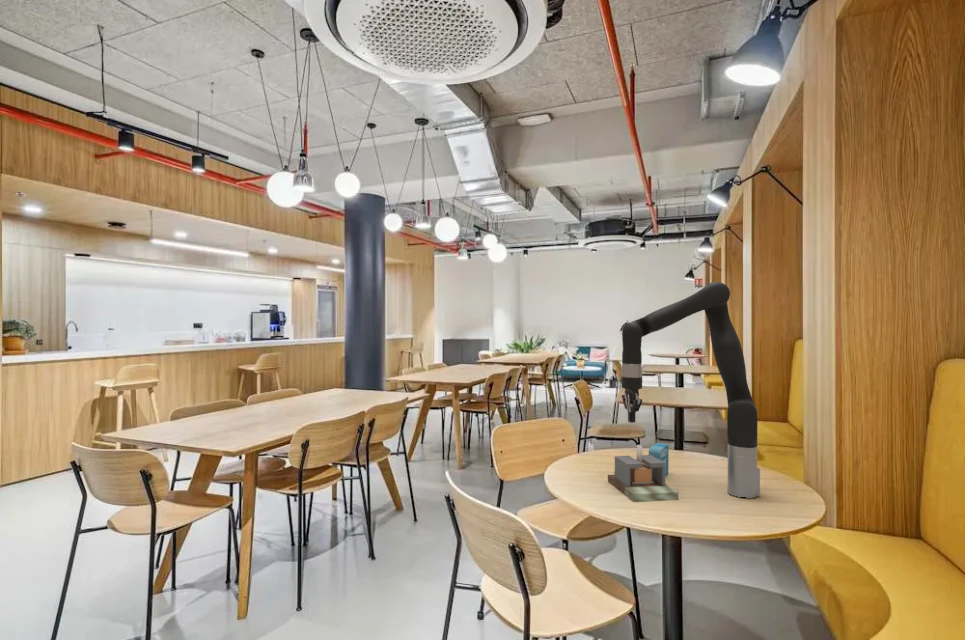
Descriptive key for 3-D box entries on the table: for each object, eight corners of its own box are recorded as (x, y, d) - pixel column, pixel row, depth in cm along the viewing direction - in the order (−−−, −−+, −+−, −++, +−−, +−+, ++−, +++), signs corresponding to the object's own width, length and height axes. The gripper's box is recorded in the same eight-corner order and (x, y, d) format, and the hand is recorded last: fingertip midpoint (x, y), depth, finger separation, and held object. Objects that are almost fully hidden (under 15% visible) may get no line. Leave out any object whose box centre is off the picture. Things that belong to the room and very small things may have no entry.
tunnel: (650, 476, 187) (650, 454, 187) (665, 485, 176) (665, 462, 176) (614, 477, 185) (614, 456, 185) (627, 487, 174) (627, 464, 174)
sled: (645, 478, 184) (646, 443, 184) (653, 483, 178) (653, 447, 178) (625, 479, 183) (625, 443, 183) (632, 484, 177) (632, 447, 177)
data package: (660, 481, 189) (660, 450, 189) (648, 479, 191) (648, 448, 191) (668, 474, 199) (668, 443, 199) (656, 472, 201) (657, 442, 201)
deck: (647, 479, 191) (647, 473, 191) (678, 499, 169) (678, 492, 169) (607, 481, 189) (607, 474, 189) (633, 501, 167) (633, 494, 167)
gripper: (649, 377, 181) (649, 425, 181) (633, 373, 195) (633, 418, 194) (630, 377, 180) (629, 425, 180) (615, 374, 194) (614, 419, 193)
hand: (631, 422), depth 187 cm, fingers closed
